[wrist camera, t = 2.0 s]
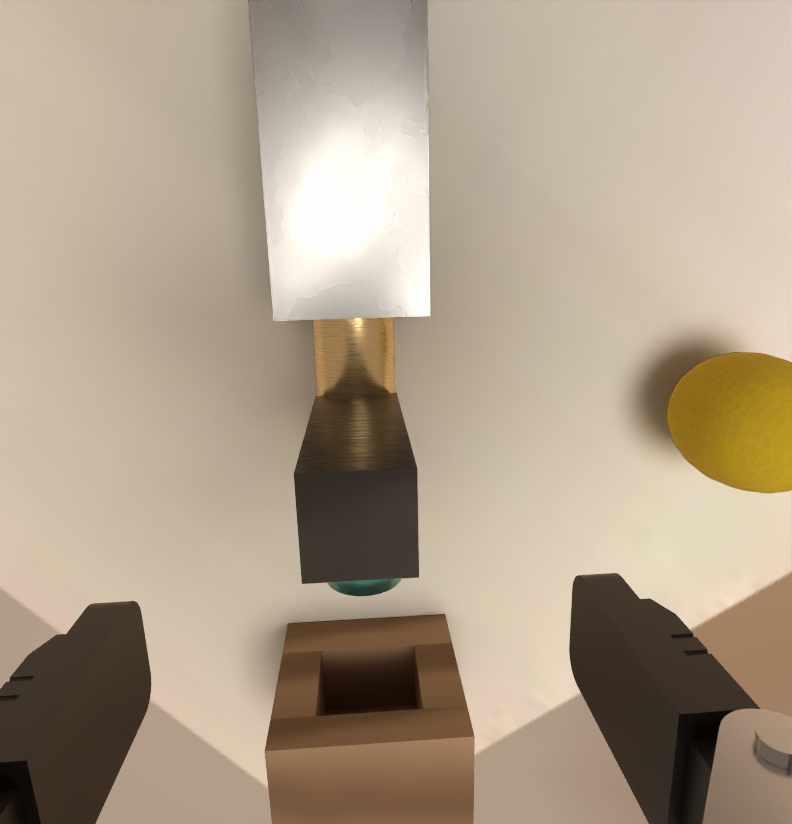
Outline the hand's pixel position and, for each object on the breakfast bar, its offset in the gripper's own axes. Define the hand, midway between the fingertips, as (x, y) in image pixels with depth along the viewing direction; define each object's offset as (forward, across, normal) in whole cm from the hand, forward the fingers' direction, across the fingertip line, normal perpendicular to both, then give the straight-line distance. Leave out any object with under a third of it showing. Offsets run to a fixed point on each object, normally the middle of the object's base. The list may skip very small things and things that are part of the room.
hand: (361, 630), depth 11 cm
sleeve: (+17, 0, -11) cm, 20 cm away
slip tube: (+14, 0, -5) cm, 15 cm away
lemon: (+17, -16, 0) cm, 24 cm away
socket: (+17, 0, +14) cm, 22 cm away
